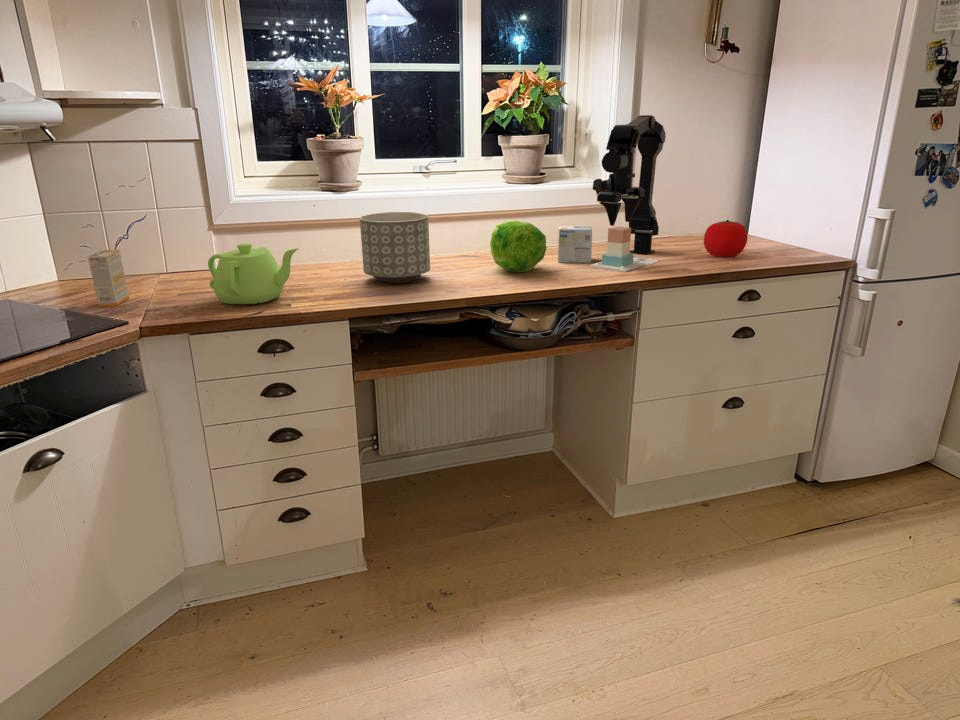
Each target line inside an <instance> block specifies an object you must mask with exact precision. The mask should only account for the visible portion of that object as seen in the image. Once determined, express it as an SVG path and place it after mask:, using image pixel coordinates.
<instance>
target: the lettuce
mask: <svg viewBox="0 0 960 720" xmlns="http://www.w3.org/2000/svg"><path fill="white" fill-rule="evenodd" d="M547 248H548V247H547V236H546V235H545V234H544V233H543V232H542V231H541V230H540V229H539V228H538V227H536V226H535V224H533V223H530V222H524V221H520V220H511V221H504V222H502V223H499V224H497V225H496V226H495V227H494V229H493V231H492V233H491V238H490V253H491V256H492V259H493V260H494V263H495V264H496V265H497V266H499V267H500V268H501V269H503V270H507V271H510V272H512V273H521V272H522V273H525V272H529V271H530V270H532V269H533V268H534V267H535V266H537V265H538V264H539V263H540V262H541V261H543V260H544V259H545V258H544V257H545V256H546V252H547Z"/></svg>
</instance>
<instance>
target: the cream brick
mask: <svg viewBox="0 0 960 720" xmlns="http://www.w3.org/2000/svg"><path fill="white" fill-rule="evenodd" d="M606 247H607V248H606V249H607V250H606V254H607V255H612V256H619V257H623V256H626V255H628V254H631V252H630V251H631V240H630V241H629V242H626V243H623V244H622V243H613V242H608V241H607V245H606Z"/></svg>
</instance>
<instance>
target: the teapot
mask: <svg viewBox="0 0 960 720" xmlns="http://www.w3.org/2000/svg"><path fill="white" fill-rule="evenodd" d="M252 246H253V244H251V243H239V244H238V245H236V247H237V249H234V250H230V251H227V252H224V253H216V254H214V255H211V256H210V257H209V259H208V261H207V266H208V269H209V272H210V274H211V277H212V279H211V280H210V281H209V287H210V288H211V290H213V291H214V295H215V296H216V297H217V299H218V300H219V301H220V302H221V304H222V303H223V304H228V305H258V304H257V303H260V304H263V303H266V302H269V301H272V300H275V299H276V298H278V297H279V296H280V295H281V293H282V292H283V290H284V287H285V284H286V283H287V281H289V278H290V274H291V261H292V257H293V255H294V253H296V252H297V251H298V250H299V249H300V248H293V249H288V250H286V251H285V252H284V253H283V257H282V261H281V262H282V263H281V268H280V265H279V264H278V262H277V260H276V258H275V257H274V256H273V253H272V252H271V251H270V250H269V249H268V248H267V247H265V246H260V247H258V248H253V247H252ZM216 259H219V260H218V263H217V266H215V260H216Z"/></svg>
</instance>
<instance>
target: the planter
mask: <svg viewBox="0 0 960 720" xmlns="http://www.w3.org/2000/svg"><path fill="white" fill-rule="evenodd" d="M359 226H360V239H361V240H360V241H361V252H362V253H361V254H362V255H361V256H362V269H363V273H364V274H365V275H368V276H370V277H371V276H372V277H373V278H375V279H377V280H378V281H381V282H384V283H386V282H387V284H404V283H403V282H405V283H409V282H412V281H414V280H415V279H417V278H419V277H421V275H423V274H425V273H428V272H429V271H430V270H431V254H430V253H431V252H430V251H431V250H430V229H429V227H430V226H429V215H428V214H426V213H422V212H417V211H415V212H413V211H391V212H390V211H389V212H376V213H375V212H374V213H369V214H368V213H367V214H365V215H361V216H360V217H359Z"/></svg>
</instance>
